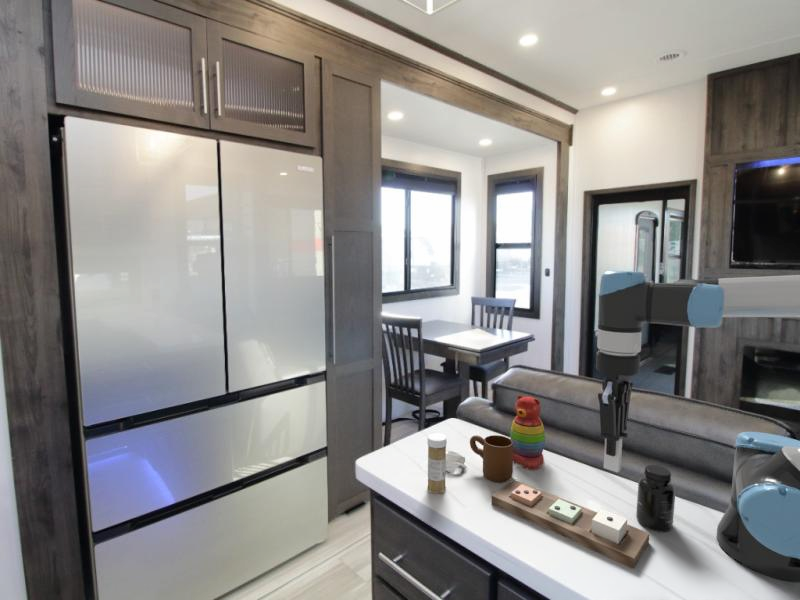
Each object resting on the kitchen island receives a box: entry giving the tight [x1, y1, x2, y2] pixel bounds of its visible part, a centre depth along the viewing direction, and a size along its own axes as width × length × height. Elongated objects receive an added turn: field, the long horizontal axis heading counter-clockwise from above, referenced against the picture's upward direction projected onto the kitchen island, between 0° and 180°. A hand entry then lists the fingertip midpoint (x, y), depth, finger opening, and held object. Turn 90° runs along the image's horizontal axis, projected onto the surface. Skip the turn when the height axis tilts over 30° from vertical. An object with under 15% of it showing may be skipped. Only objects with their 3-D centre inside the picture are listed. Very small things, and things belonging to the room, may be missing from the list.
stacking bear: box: [509, 394, 546, 471], centre depth 121 cm, size 11×10×18 cm
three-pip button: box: [511, 484, 542, 507], centre depth 100 cm, size 5×5×3 cm
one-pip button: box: [592, 508, 628, 545], centre depth 87 cm, size 5×5×3 cm
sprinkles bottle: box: [427, 433, 448, 495], centre depth 106 cm, size 5×5×14 cm
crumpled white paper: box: [446, 450, 468, 474], centre depth 118 cm, size 8×7×5 cm
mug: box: [469, 434, 514, 483], centre depth 114 cm, size 12×8×9 cm, turn 51°
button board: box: [491, 478, 650, 569], centre depth 93 cm, size 30×10×2 cm, turn 46°
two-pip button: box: [549, 499, 581, 525], centre depth 93 cm, size 5×5×3 cm
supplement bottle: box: [635, 464, 676, 533], centre depth 93 cm, size 7×7×12 cm
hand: (612, 468), depth 86 cm, fingers closed
